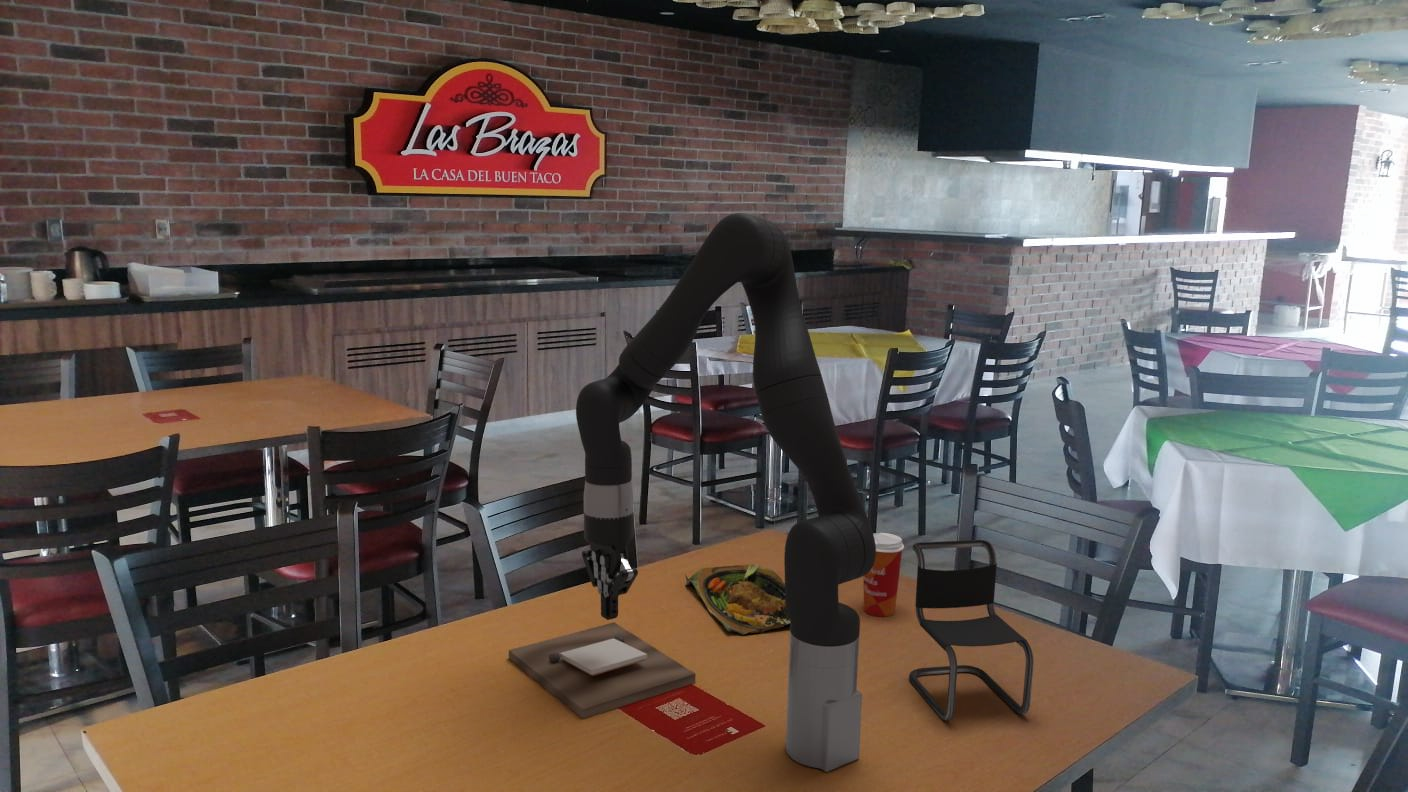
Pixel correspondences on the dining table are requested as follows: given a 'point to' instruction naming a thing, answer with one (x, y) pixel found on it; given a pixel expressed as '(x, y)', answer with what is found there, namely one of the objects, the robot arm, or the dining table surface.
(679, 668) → the walnut board
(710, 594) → the prepared meal
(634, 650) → the tile
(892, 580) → the paper cup
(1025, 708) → the chair
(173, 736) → the dining table surface
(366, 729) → the dining table surface
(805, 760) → the robot arm
